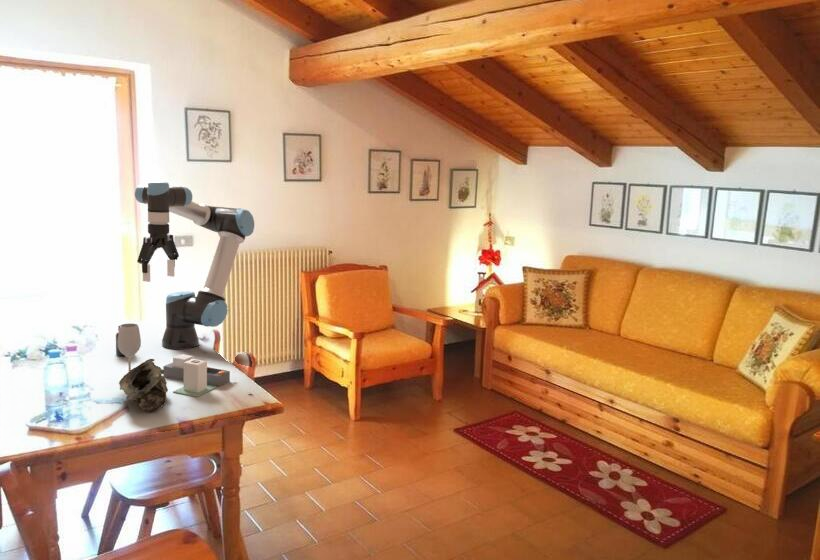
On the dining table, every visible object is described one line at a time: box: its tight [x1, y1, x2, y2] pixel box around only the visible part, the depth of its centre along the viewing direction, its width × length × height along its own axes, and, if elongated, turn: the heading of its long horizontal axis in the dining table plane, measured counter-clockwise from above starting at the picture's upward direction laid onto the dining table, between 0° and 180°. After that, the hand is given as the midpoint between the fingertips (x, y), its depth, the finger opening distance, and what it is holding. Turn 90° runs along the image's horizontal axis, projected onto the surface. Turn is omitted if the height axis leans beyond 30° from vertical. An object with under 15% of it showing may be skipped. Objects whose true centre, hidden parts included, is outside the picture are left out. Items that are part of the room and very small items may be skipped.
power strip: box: [161, 362, 231, 388], centre depth 239 cm, size 31×7×4 cm, turn 71°
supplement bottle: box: [115, 325, 127, 358], centre depth 261 cm, size 7×7×12 cm
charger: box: [183, 358, 208, 393], centre depth 226 cm, size 5×6×10 cm
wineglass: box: [117, 322, 142, 384], centre depth 229 cm, size 8×8×21 cm
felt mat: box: [172, 385, 218, 398], centre depth 227 cm, size 11×10×1 cm
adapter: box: [172, 353, 194, 369], centre depth 239 cm, size 5×5×5 cm
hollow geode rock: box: [118, 358, 169, 414], centre depth 212 cm, size 28×13×15 cm
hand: (159, 278), depth 245 cm, fingers open, 13 cm apart
